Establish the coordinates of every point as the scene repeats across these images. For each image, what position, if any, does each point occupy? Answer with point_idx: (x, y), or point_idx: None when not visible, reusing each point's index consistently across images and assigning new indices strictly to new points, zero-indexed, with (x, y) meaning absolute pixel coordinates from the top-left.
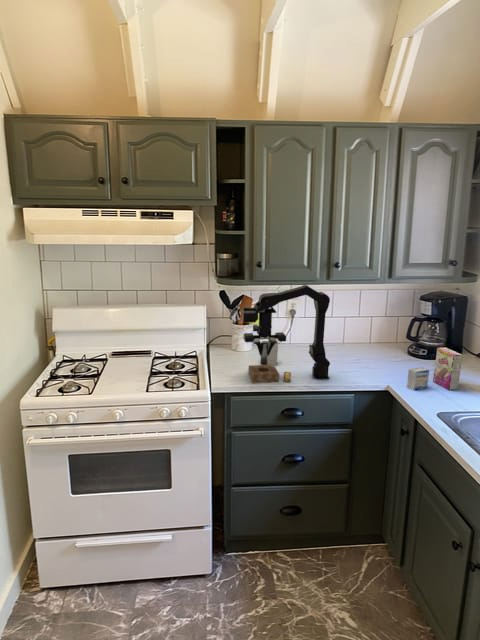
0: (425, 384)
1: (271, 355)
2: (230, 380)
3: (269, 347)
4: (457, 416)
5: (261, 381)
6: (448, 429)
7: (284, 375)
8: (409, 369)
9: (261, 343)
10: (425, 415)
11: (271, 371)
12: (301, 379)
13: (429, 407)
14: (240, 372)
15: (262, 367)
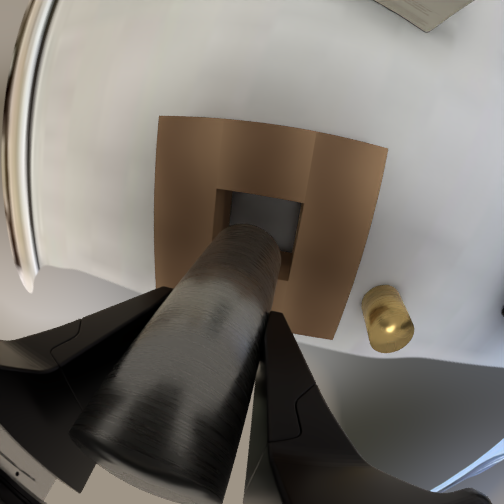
0: None
1: None
2: (85, 210)
3: (248, 464)
4: (492, 462)
5: None
6: (446, 485)
7: (367, 331)
8: None
9: (88, 450)
10: (468, 467)
11: (300, 291)
12: (457, 299)
13: (501, 448)
14: (147, 91)
15: (262, 184)
